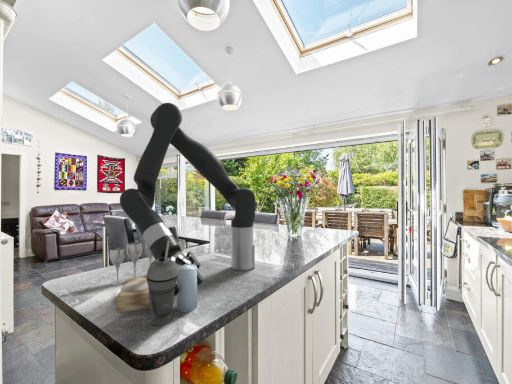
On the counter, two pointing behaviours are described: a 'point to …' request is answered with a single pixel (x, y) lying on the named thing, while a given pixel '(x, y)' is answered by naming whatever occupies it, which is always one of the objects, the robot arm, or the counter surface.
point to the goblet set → (134, 256)
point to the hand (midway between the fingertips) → (189, 288)
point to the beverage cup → (161, 289)
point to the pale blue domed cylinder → (187, 288)
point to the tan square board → (133, 295)
